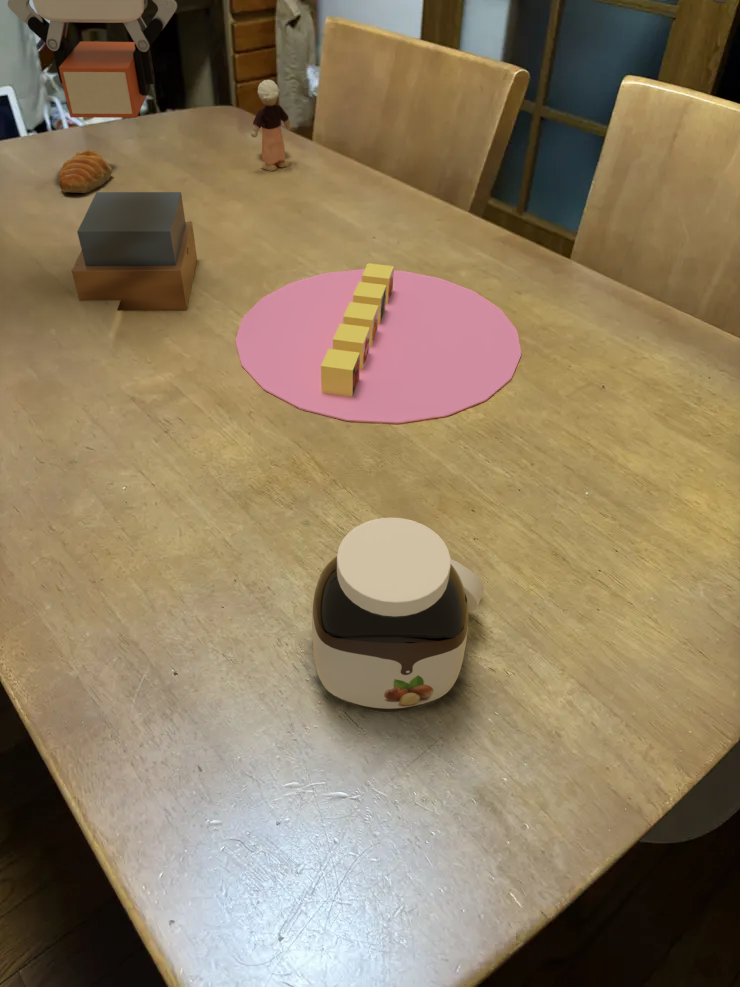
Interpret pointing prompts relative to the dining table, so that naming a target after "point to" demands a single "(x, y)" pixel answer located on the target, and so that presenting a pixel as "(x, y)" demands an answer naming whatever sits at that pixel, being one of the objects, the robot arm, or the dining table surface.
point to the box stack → (136, 251)
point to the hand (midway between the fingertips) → (109, 90)
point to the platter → (378, 345)
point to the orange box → (101, 80)
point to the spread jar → (392, 617)
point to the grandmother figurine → (271, 126)
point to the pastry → (84, 172)
